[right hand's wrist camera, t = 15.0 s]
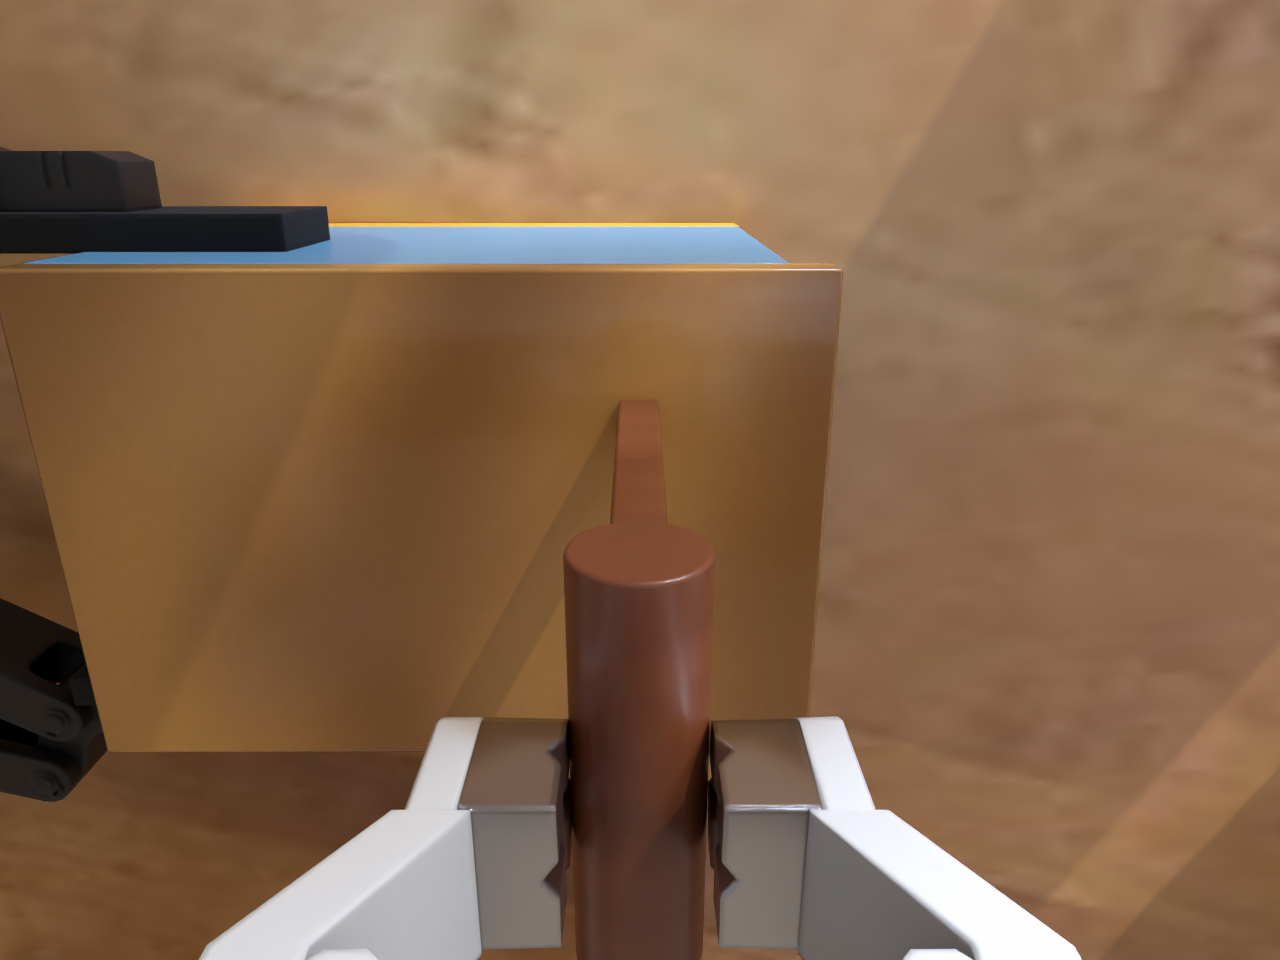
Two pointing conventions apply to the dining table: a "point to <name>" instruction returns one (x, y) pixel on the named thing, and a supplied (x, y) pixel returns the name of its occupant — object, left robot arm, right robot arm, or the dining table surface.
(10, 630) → the left robot arm
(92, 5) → the dining table surface
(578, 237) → the chest
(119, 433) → the lid
